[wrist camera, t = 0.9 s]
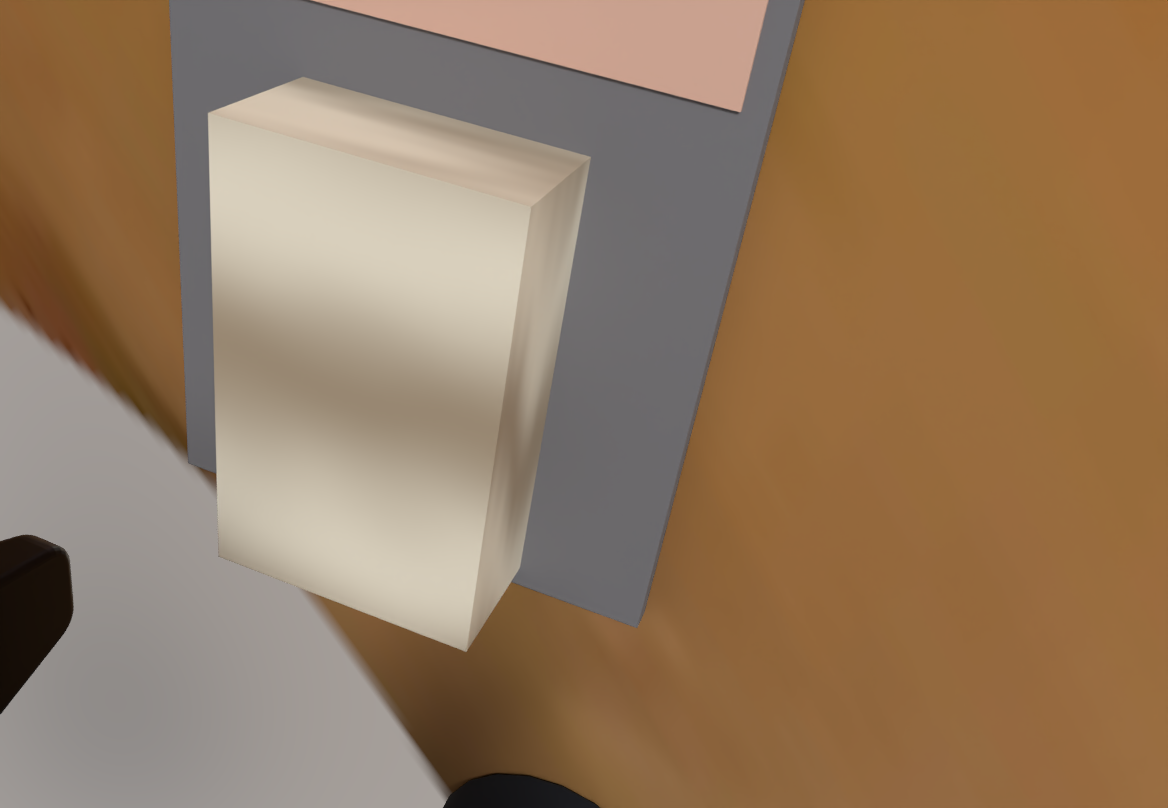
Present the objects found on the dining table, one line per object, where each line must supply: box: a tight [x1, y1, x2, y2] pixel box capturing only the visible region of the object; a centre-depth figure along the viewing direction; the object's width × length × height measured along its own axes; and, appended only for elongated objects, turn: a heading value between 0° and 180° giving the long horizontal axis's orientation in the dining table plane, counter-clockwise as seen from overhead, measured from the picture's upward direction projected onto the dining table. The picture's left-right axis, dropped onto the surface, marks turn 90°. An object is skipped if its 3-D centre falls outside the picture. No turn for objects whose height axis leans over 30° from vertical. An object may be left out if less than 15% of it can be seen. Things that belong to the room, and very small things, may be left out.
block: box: [208, 77, 591, 652], centre depth 22 cm, size 10×6×3 cm, turn 171°
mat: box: [169, 0, 805, 628], centre depth 20 cm, size 21×12×1 cm, turn 171°
